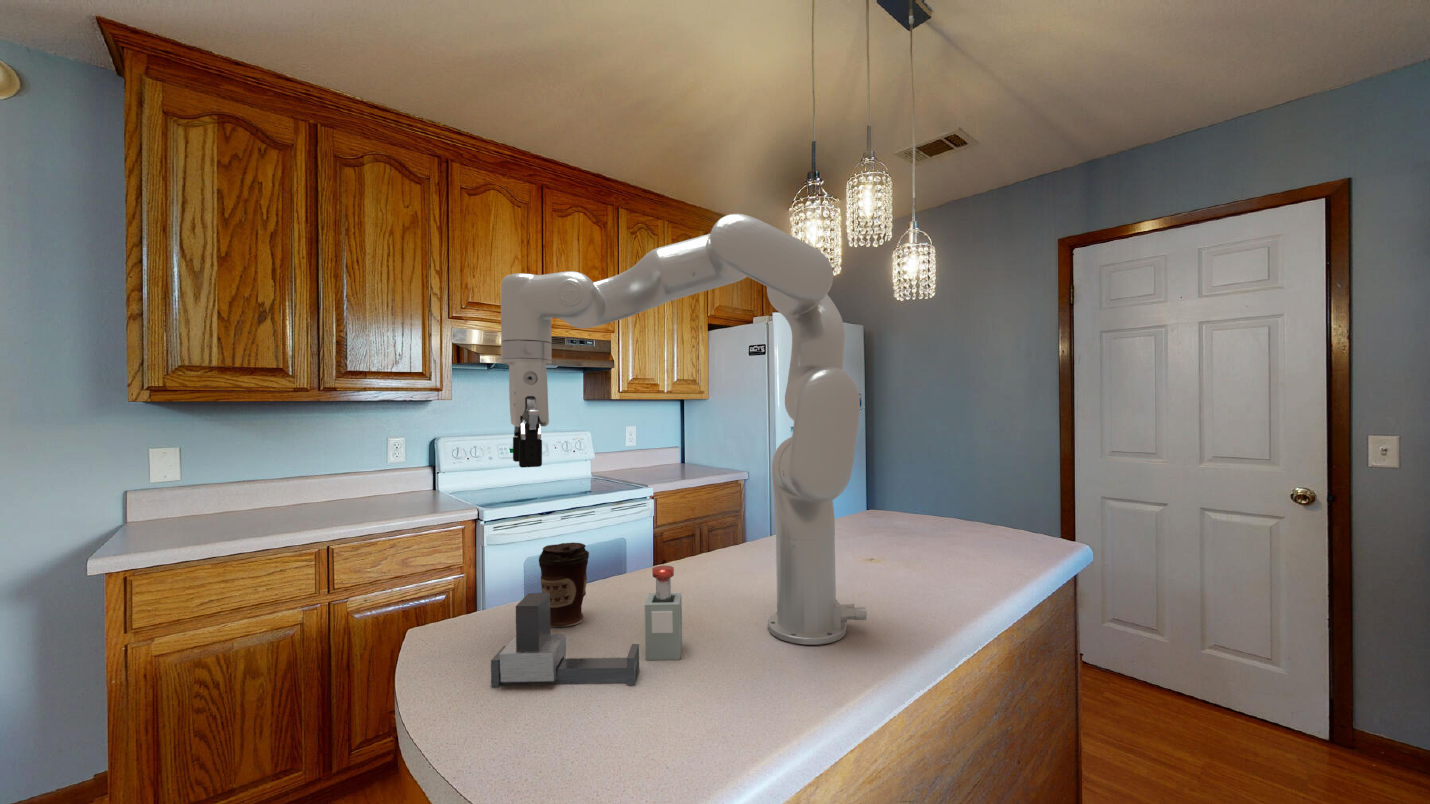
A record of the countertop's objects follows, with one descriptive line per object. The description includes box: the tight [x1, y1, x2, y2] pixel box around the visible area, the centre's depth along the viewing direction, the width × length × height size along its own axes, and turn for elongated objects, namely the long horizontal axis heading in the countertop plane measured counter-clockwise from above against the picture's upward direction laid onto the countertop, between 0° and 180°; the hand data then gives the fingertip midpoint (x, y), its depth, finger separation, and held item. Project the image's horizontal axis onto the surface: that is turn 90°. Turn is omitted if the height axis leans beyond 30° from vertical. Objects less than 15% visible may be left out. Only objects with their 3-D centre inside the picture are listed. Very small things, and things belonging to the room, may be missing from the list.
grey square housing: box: [644, 592, 683, 661], centre depth 82 cm, size 5×5×8 cm
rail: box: [490, 643, 640, 689], centre depth 75 cm, size 19×4×4 cm, turn 90°
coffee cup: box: [538, 542, 590, 628], centre depth 95 cm, size 9×8×13 cm
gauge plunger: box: [651, 565, 675, 603], centre depth 82 cm, size 3×3×7 cm
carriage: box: [500, 592, 567, 682], centre depth 75 cm, size 7×6×10 cm
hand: (526, 463), depth 86 cm, fingers open, 9 cm apart
